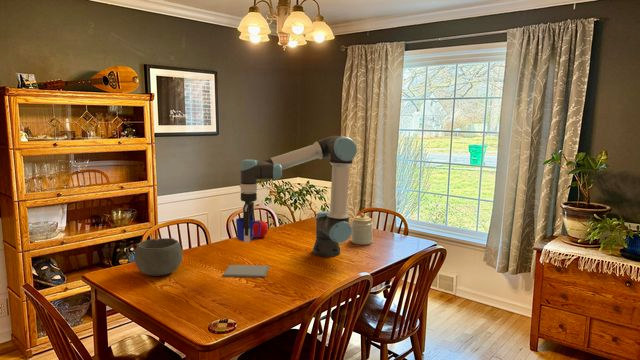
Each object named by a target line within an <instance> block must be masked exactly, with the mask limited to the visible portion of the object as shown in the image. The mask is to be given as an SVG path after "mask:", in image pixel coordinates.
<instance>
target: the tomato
mask: <svg viewBox="0 0 640 360" xmlns="http://www.w3.org/2000/svg"><path fill="white" fill-rule="evenodd" d="M254 221H255V222H261V228H260V234H259V236H258V237H256V238H258V239H260V238H262V237H265V236H266V235H267V234H268V232H269V227H268V224H267V222H265V221H264V220H261V219H260V220H259V219H258V220H254ZM258 231H259V224H258V223H255V224H254V225H253V236H257V234H258Z"/></svg>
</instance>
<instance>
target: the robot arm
mask: <svg viewBox="0 0 640 360" xmlns="http://www.w3.org/2000/svg"><path fill="white" fill-rule="evenodd" d="M357 152H358V148H357V144H356V142H355V141H354V140H353V139H352V138H350V137H348V136H342V135H331V136H328V137H326V138H322V139H320V140H317V141H315V142H314V143H313V144H310V145H307V146H304V147H301V148H299V149H295V150H291V151H288V152H286V153H283V154H279V155H276V156H272V157H270V158H267V159H263V160H261V159H260V160H256V159H243V160H241V162H240V185H239V187H240V201H241V202H244V204H243V207H242V211H243V212H242V214H243V215H242V218H243V227H242V229H244V241H243V243H250V242H251V240H250V227H249V226H250V218H252V219H253V220H254V221H255V209H254V208H255V206H254V205H255V202H256V201H257V199H258V198H257V196H258V194H257V192H258V184H257V183H258V181H260V180H279V179H281V178H282V175H283V170H287V169H289V168H292V167H294V166H295V167H296V166H298V165H301V164H305V163H308V162H310V161H313V160H316V159H319V160H322V159H327V158H329V163H330V165H331V166H332V167H331V186H330V187H331V188H330V207H329V210H328V211H326V210H325V211H318V212H317V213H316V217H315V221H316V222H315V225H316V226H315V236H316V237H315V241H314V244H313V248H312V254H313V255H315V256H317V257H318V256H319V257H324V258H325V257H336V256H339V255H340V254H341V247H340V244H341V243H345V242H347V241H348V240H349V239H351V237H352V226H351V225H352V224H350V215H349V214H348V213H347V210H348V209H347V208H348V193H349V191H348V190H349V176H350V175H349V174H350V166H352V165H353V159H354V158H355V157H356V155H357ZM254 224H255V223H254ZM253 238H254V237H252V239H253ZM339 243H340V244H339Z"/></svg>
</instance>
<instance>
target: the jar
mask: <svg viewBox="0 0 640 360" xmlns="http://www.w3.org/2000/svg"><path fill="white" fill-rule="evenodd" d="M372 220H373V218H371V217H370V216H367V215H365V213H364V212H361V213H360V215H357V216H355V217H353V218H352V221H351V225H352V226H351V227H352V234H351V236H350V239H351V243H353V244H355V245H361V246H362V245H370V244H372V243H373V240H374V237H373V234H374V233H373V232H374V227H373V225H374V222H373V221H372Z"/></svg>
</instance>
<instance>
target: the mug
mask: <svg viewBox="0 0 640 360" xmlns="http://www.w3.org/2000/svg"><path fill="white" fill-rule="evenodd" d="M235 219H236V220H235V223H236V225H235V226H236V238H237V240H238V241H240V242H244V229H242V227H243V217H239V218H238V217H237V218H235ZM255 221H256V220H255V219H254V220H253V219H252V218H250V226H249V227H250V241H251V240H252V239H253V238H254V239H255V238H257V237H258V236H259V234H260V228H261V222H255ZM254 223H258V224H259V231H258V234H257V236H253V225H254ZM252 237H253V238H252Z"/></svg>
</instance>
